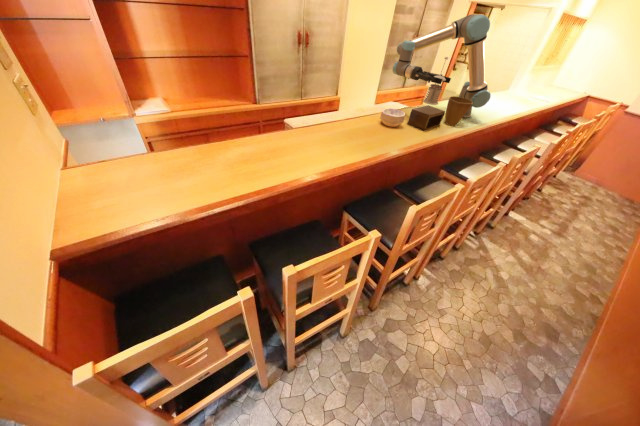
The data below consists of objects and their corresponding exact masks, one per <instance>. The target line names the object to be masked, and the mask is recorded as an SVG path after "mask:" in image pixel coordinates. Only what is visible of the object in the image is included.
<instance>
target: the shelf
mask: <svg viewBox="0 0 640 426" xmlns="http://www.w3.org/2000/svg"><path fill="white" fill-rule="evenodd" d="M445 115H446V110H443V109H440V108H437V107H434V106H433V105H432V106H431V105H430V104H427V105H423V106H418V107H414V108H412V109H411V111H410V114H409V117H408V121H407V122H406V124H407V125H408V126H409V127H410V126H411V127H413V128H415V129H418V130H420V131H423V132H425V131H429V130H432V129H435V128H439V127H440V126H441V123H442V121H443V119H444V116H445Z"/></svg>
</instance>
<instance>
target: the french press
mask: <svg viewBox="0 0 640 426" xmlns="http://www.w3.org/2000/svg"><path fill="white" fill-rule="evenodd" d="M448 59H449V57H448V56H445V57H444V63H443V66H442V69H441V71H440V73H439V76H434V77H437V78H440V79H443V80H442V81H445V80H446V79H445V78H444V77H443V76H444V75H442V76H441V74H442V72H443V70H444V67H445V64H446V61H447V60H448ZM442 88H443V86H442V85H441V84H437V83H432V84H429V86H428V88H427V89H428V90H427V92H426V95H425V98H424V99H423V100H422V102H423V103H425V104H426V105H430V106H431V105H432V106H436V105H439V102H438V101H439V99H440V96H441V94H442V91H443V89H442Z"/></svg>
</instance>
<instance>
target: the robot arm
mask: <svg viewBox="0 0 640 426" xmlns="http://www.w3.org/2000/svg"><path fill="white" fill-rule="evenodd" d="M490 27H491V21H490V18H489V17H488V16H487V15H484V14H482V13H480V14H474V13H473V14H469V15H466V16H463V17H461V18H459V19H457V20H455V21H454V20H453V21H452V22H451V23H450V24H449V25H447V26H444V27H441V28H439V29H436V30H432V31H430V32H428V33H425V34H422V35H419V36H417V37H413V38H411V39H410V40H403V41H401V42H399V43H398V45H397V46H396V53H397V55H398V56H399V57H398V60H397V61H396V62H394V64H393V66H392V73H393V74H394V75H397V76H398V77H399V76H400V77H404V78H406V79H407V80H410V79H411V80H413V81H419V80H422V81H425V82H427V83H433V84H435V83H436V85H438V84H439V85H442V82H443V83H447V84H450V82H451V80H452V78H451V77H448V76H445V75H443V74H442V73H439V74H438V73H433V72H430V71H427V70H426V71H425V70H424V69H423V67H422V66H419V65H415V64H411V61H412V57H413V54H414V52H418V51H420V50H423V49H426V48H428V47H429V48H430V47H432V46H434V45H437V44H440V43H442V42H445V41H449V40H456V39H461V38H463V40H464V41H463V42H464V43H463V44H464V47H466V48H467V65H468V81H465V82H464V84H463V86H462V88H461V90H460V91H459V92H460V93H459V95H458V97H461V98H465V99H468V100H471V101H472V102H473V104H472V105H471V107H470V108H469V110H468V111H467V112H466V114H465V115H464V116H463V118H464V119H468V118H470V117H471V115H472V111H473V108H476V109H477V108H482V107H483V106H486V105H487V103H488V102H489V101H490V99H491V92H490V91H489V90H488V87H489V86H488V82H487V81H485V79H486V77H485V75H486V74H485V41H486V40H487V39H488V32H489V30H490ZM440 74H441V76H443V77H444V78H445V79H446V80H445V81H442V80H443V79H440V78H437V77H434V76H439V75H440ZM463 118H462V119H463Z"/></svg>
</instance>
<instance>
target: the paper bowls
mask: <svg viewBox="0 0 640 426" xmlns="http://www.w3.org/2000/svg"><path fill="white" fill-rule="evenodd" d="M405 118H406V112H405V111H403V110H401V109H396V108H391V107H390V108H388V107H387V108H383V109H381V112H380V117H379V119H380V120H381V121H382V124H383V125H385V126H387V127H391V128H395V127H396V128H397V127H398V126H400V125H401V124H403V123H404V122H405Z"/></svg>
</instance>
